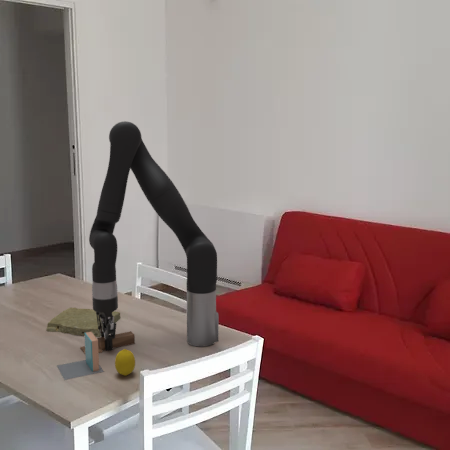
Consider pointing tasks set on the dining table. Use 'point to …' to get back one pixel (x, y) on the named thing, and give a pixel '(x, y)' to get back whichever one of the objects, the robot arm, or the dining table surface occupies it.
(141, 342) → the dining table surface
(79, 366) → the slate mat
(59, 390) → the dining table surface
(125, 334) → the brown long stepped block
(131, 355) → the lemon
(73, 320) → the olive green stone slab
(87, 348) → the pink scouring sponge
